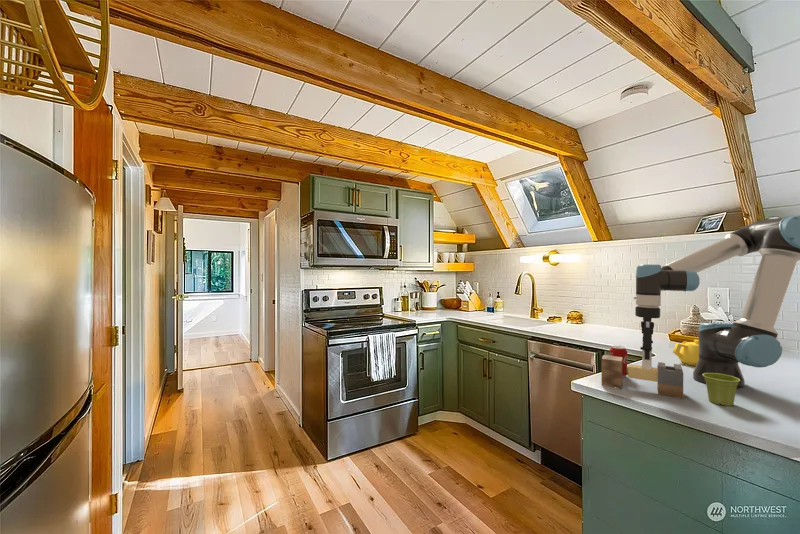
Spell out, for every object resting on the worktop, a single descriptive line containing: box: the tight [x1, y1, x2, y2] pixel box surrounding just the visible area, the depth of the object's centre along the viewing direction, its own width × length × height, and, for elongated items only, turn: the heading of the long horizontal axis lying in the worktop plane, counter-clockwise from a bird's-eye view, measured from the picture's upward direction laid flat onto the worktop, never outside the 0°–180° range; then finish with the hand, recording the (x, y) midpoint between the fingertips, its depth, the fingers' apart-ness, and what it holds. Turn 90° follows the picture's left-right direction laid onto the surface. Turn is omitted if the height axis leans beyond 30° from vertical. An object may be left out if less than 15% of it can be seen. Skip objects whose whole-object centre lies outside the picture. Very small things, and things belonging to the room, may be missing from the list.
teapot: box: [672, 339, 699, 367], centre depth 169 cm, size 20×18×11 cm
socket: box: [601, 354, 623, 390], centre depth 138 cm, size 6×7×10 cm
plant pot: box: [702, 373, 740, 407], centre depth 119 cm, size 9×9×9 cm
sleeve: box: [656, 361, 684, 400], centre depth 128 cm, size 7×7×10 cm
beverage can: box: [608, 345, 628, 379], centre depth 148 cm, size 6×6×12 cm
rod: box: [626, 363, 675, 383], centre depth 130 cm, size 16×4×4 cm, turn 56°
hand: (646, 364), depth 131 cm, fingers open, 13 cm apart
